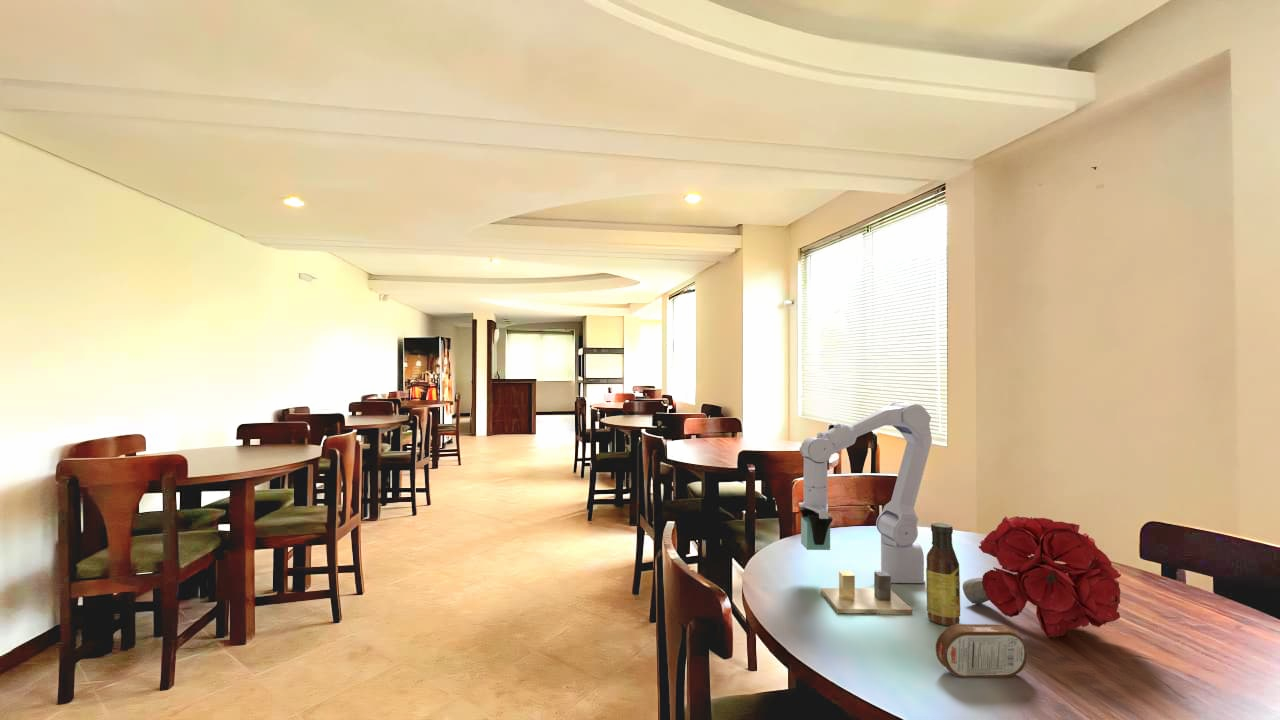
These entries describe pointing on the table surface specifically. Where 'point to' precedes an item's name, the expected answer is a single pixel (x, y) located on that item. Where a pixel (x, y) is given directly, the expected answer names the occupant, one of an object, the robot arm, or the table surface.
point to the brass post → (846, 586)
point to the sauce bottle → (942, 577)
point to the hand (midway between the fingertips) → (815, 540)
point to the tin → (981, 651)
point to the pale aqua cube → (808, 536)
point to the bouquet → (1048, 575)
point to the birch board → (869, 598)
